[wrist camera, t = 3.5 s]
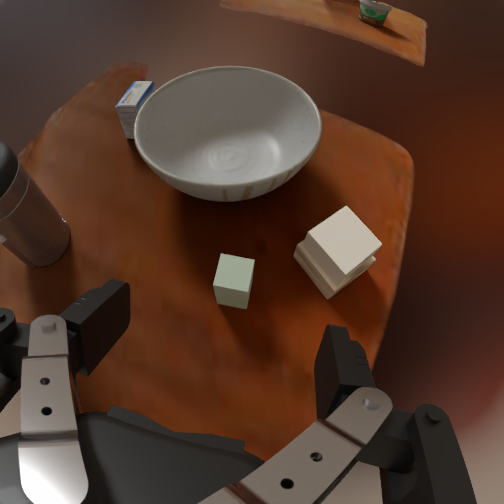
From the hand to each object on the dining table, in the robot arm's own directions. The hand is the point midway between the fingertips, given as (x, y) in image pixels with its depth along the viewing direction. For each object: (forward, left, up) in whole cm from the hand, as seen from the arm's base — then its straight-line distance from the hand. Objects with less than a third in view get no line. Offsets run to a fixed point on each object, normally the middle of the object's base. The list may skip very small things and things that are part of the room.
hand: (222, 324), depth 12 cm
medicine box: (+9, +47, -29) cm, 56 cm away
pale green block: (+6, +9, -29) cm, 31 cm away
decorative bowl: (+17, +28, -29) cm, 44 cm away
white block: (+20, +5, -26) cm, 33 cm away
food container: (+99, +65, -29) cm, 122 cm away
